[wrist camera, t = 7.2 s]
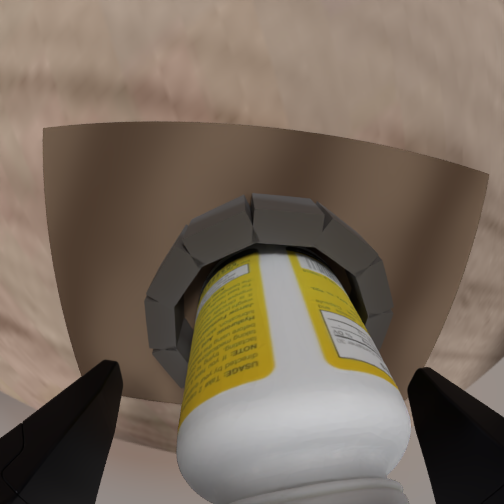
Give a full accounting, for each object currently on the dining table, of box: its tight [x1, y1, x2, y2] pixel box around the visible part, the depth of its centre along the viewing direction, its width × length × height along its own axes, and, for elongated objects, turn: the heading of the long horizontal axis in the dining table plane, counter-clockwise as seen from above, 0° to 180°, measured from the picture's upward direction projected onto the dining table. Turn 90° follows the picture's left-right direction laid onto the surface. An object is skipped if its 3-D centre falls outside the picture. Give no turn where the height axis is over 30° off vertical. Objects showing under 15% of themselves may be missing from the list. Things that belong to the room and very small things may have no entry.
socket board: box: [43, 122, 489, 404], centre depth 12 cm, size 18×13×4 cm
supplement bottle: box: [176, 243, 411, 504], centre depth 8 cm, size 5×5×10 cm
